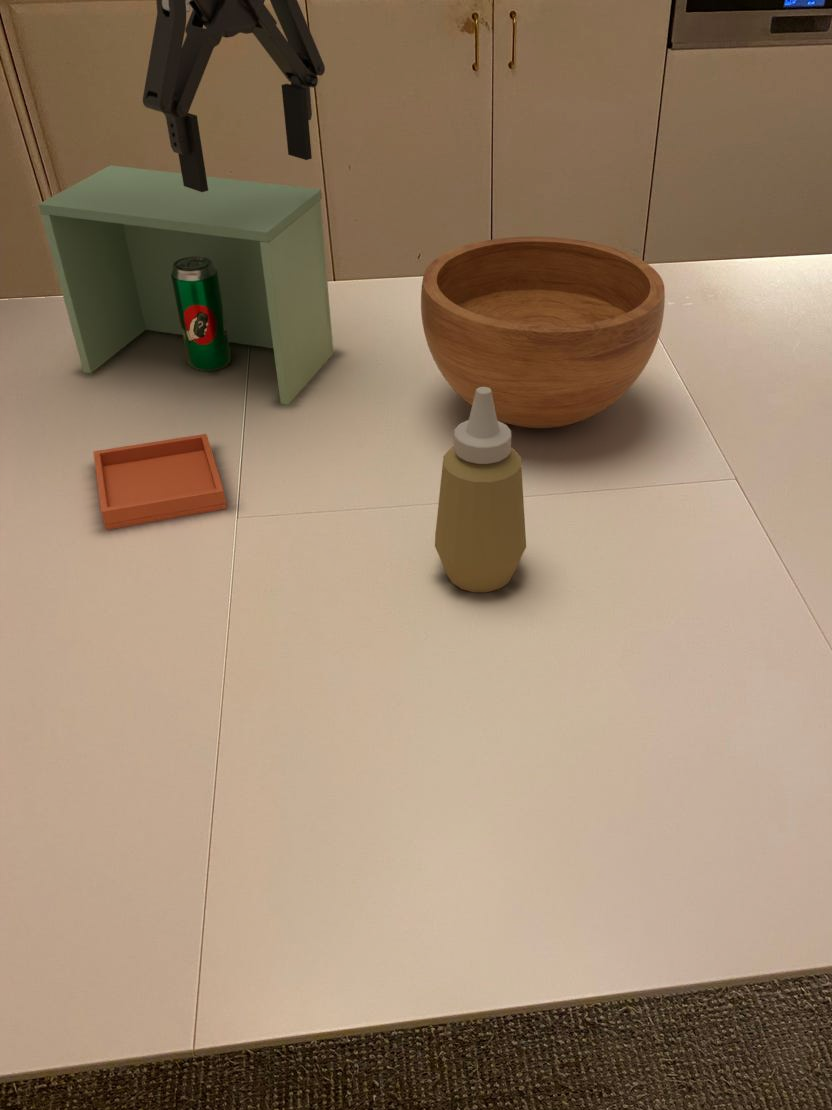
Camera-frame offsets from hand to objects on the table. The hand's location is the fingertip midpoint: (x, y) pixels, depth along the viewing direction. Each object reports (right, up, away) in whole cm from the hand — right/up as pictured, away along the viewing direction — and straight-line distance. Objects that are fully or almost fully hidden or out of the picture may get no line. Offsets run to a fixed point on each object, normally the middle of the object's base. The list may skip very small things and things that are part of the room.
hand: (250, 172), depth 98 cm
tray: (-9, -32, -1) cm, 33 cm away
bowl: (+29, -21, +12) cm, 38 cm away
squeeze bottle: (+23, -41, -10) cm, 48 cm away
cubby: (-9, -14, +19) cm, 26 cm away
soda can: (-9, -14, +20) cm, 26 cm away
